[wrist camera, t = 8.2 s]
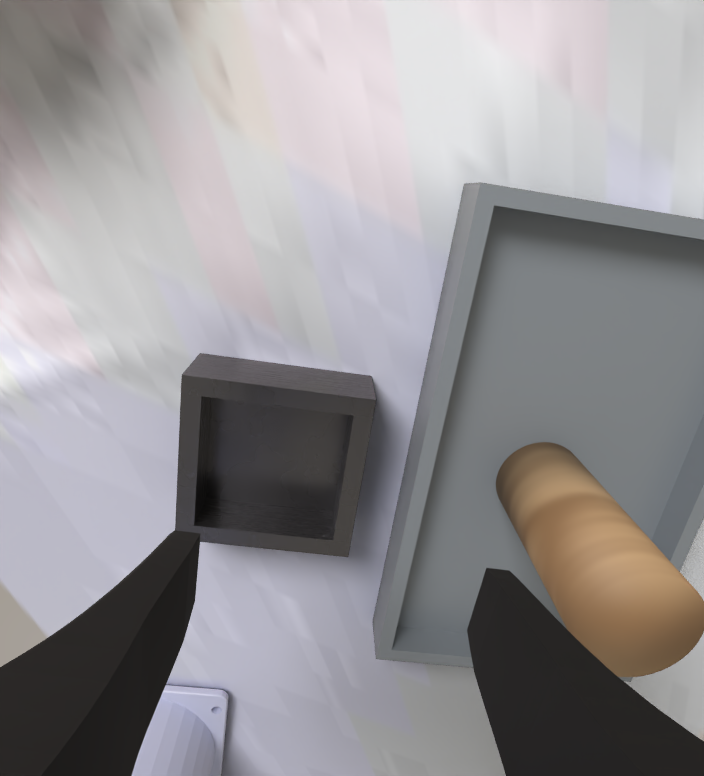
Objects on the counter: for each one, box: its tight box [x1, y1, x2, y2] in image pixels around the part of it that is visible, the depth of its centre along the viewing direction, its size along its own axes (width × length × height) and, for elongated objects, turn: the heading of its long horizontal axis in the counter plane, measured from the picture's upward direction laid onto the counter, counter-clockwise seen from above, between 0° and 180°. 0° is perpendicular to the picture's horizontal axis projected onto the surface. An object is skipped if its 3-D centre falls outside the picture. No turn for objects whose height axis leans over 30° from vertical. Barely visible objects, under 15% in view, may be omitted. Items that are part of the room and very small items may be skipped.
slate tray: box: [373, 183, 704, 682], centre depth 22 cm, size 20×12×2 cm, turn 171°
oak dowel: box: [496, 442, 704, 677], centre depth 18 cm, size 4×4×8 cm
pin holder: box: [175, 353, 376, 557], centre depth 21 cm, size 7×7×3 cm
